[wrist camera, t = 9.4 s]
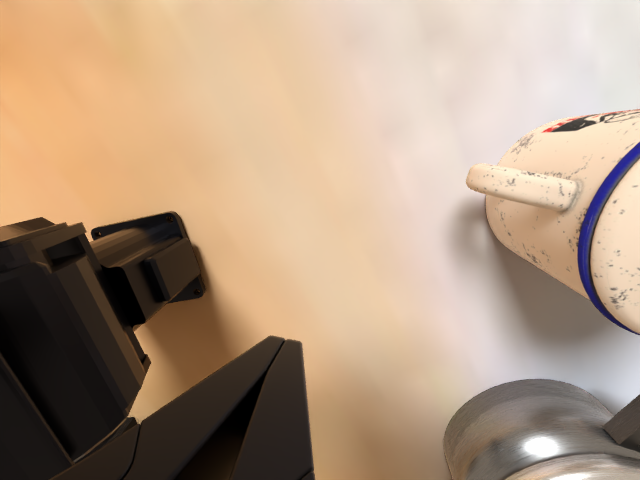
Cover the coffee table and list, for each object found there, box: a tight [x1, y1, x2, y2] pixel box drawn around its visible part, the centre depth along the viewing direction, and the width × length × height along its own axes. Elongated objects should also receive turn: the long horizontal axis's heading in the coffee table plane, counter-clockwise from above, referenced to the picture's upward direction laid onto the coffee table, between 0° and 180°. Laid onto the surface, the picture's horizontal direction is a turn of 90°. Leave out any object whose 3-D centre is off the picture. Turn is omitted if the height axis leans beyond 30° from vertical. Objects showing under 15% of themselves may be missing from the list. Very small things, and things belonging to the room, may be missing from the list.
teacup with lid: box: [466, 109, 640, 335], centre depth 13 cm, size 12×9×12 cm
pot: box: [444, 379, 640, 480], centre depth 22 cm, size 13×19×6 cm
